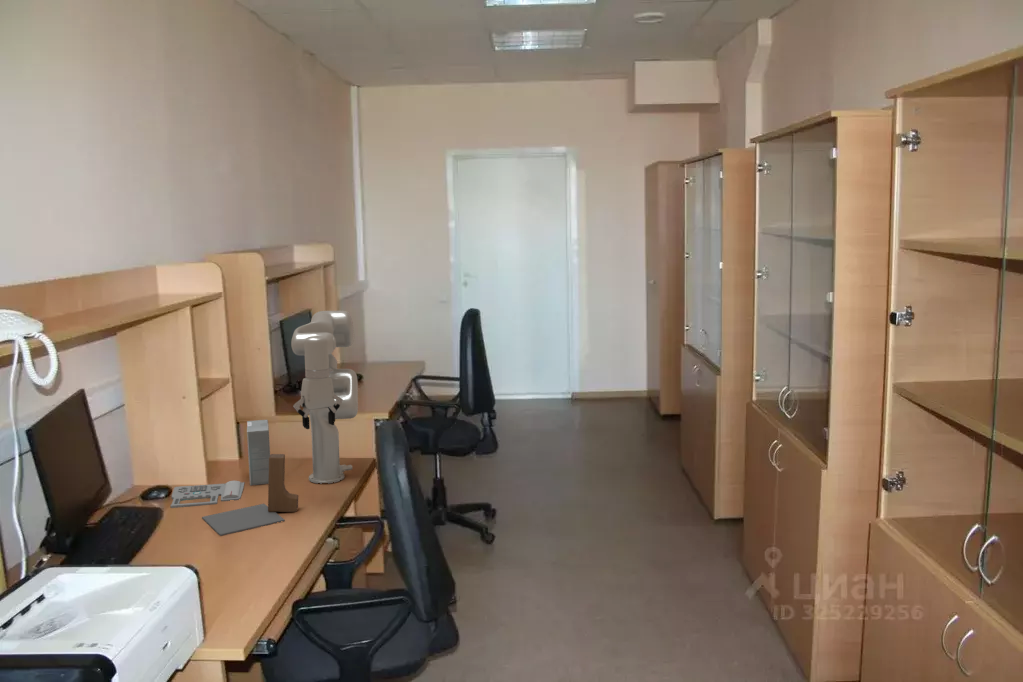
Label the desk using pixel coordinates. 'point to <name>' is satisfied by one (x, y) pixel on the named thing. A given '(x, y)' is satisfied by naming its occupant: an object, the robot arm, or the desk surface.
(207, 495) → the office telephone
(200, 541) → the desk surface
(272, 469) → the wooden block
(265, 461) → the hard drive box
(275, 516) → the mat
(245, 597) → the desk surface
